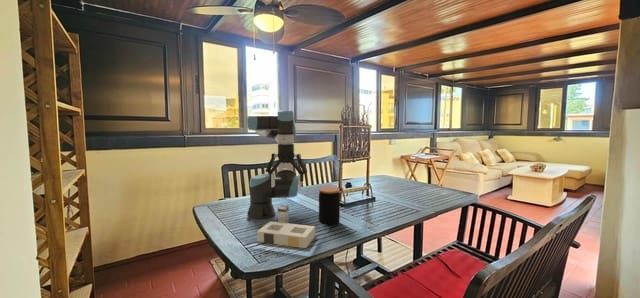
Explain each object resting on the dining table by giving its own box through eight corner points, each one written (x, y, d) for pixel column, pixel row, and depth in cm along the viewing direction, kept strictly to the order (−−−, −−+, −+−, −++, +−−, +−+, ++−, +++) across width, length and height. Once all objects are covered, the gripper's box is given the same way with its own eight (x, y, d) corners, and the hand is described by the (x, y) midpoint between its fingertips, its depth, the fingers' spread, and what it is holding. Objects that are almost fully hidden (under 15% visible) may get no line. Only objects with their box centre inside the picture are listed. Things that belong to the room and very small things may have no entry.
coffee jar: (327, 217, 150) (327, 185, 148) (343, 222, 143) (343, 188, 141) (314, 223, 142) (314, 189, 140) (331, 228, 135) (331, 192, 133)
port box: (257, 245, 117) (256, 231, 117) (270, 233, 129) (270, 221, 128) (305, 252, 111) (305, 237, 110) (315, 239, 123) (315, 226, 122)
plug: (277, 227, 132) (277, 207, 131) (281, 224, 136) (281, 205, 135) (285, 228, 131) (285, 208, 130) (289, 225, 135) (288, 205, 134)
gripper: (258, 143, 129) (259, 187, 131) (309, 144, 124) (309, 190, 126) (264, 142, 136) (265, 184, 139) (313, 143, 131) (313, 186, 133)
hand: (286, 187), depth 132 cm, fingers open, 13 cm apart
